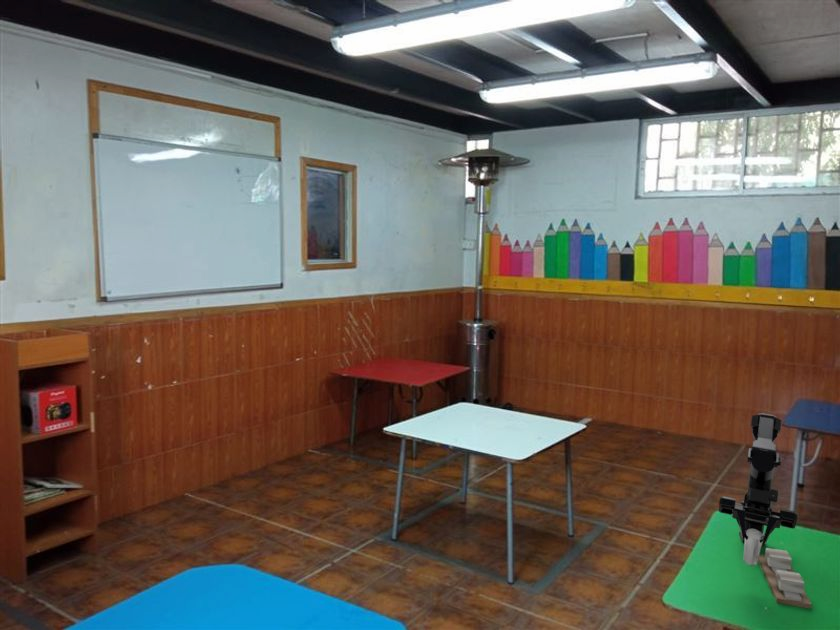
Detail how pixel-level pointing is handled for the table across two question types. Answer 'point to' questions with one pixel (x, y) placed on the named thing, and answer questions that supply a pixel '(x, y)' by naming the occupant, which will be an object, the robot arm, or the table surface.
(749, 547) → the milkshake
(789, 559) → the wooden board with pads
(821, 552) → the table surface
